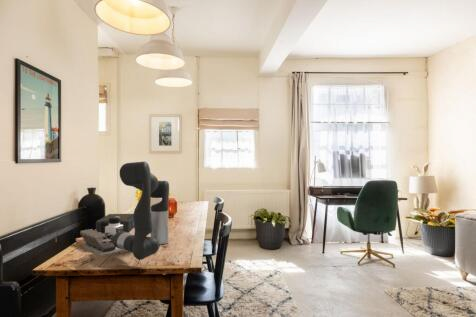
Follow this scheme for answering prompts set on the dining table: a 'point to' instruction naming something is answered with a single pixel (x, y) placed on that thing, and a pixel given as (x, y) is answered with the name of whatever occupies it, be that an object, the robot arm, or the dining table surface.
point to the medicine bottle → (114, 225)
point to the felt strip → (100, 250)
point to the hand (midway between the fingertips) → (106, 234)
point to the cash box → (124, 220)
